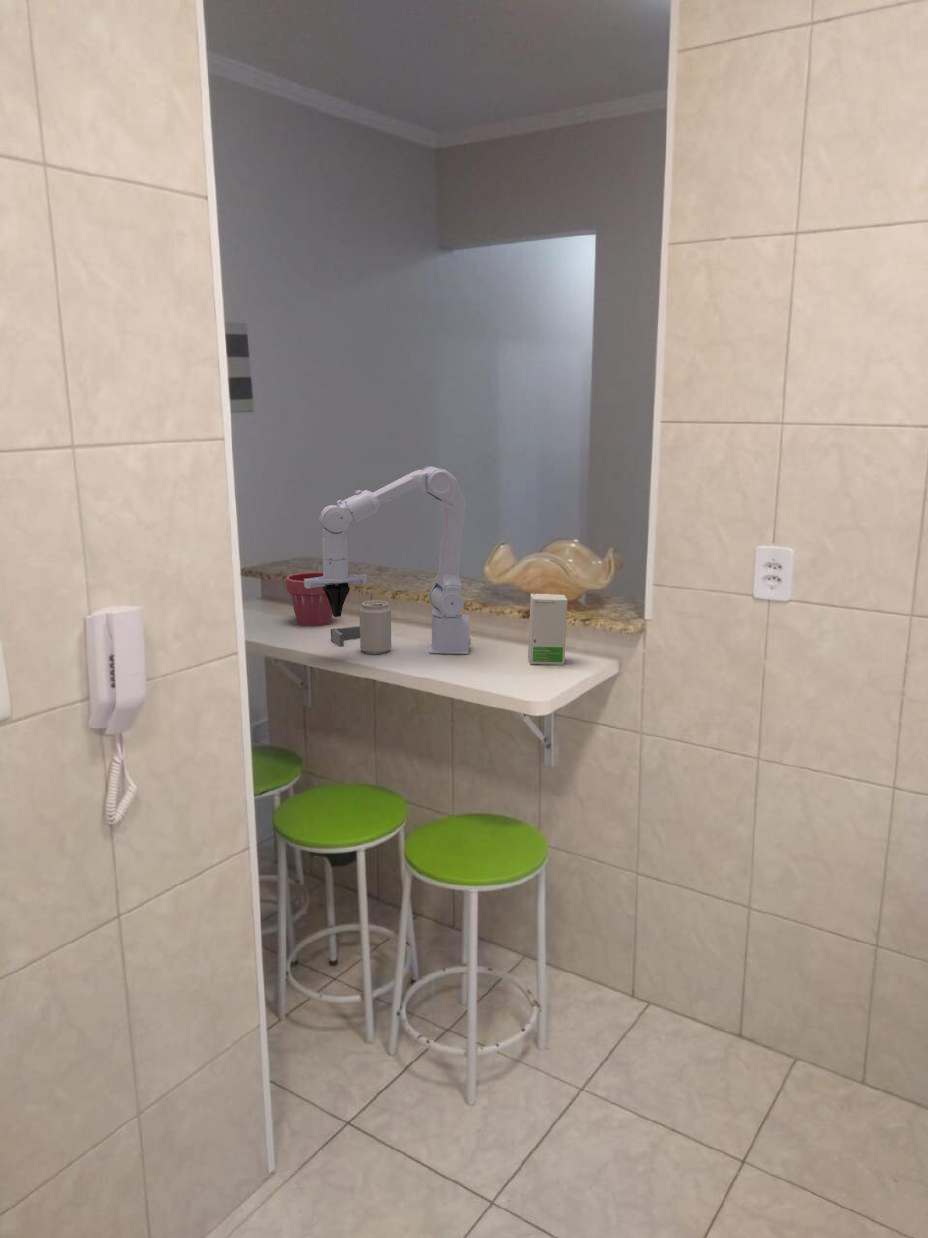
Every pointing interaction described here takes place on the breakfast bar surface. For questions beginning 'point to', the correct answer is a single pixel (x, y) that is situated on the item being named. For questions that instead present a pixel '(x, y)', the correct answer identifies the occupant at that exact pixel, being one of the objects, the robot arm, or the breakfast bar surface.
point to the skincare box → (547, 629)
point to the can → (375, 627)
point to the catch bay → (344, 634)
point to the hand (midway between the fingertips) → (336, 616)
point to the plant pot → (308, 600)
